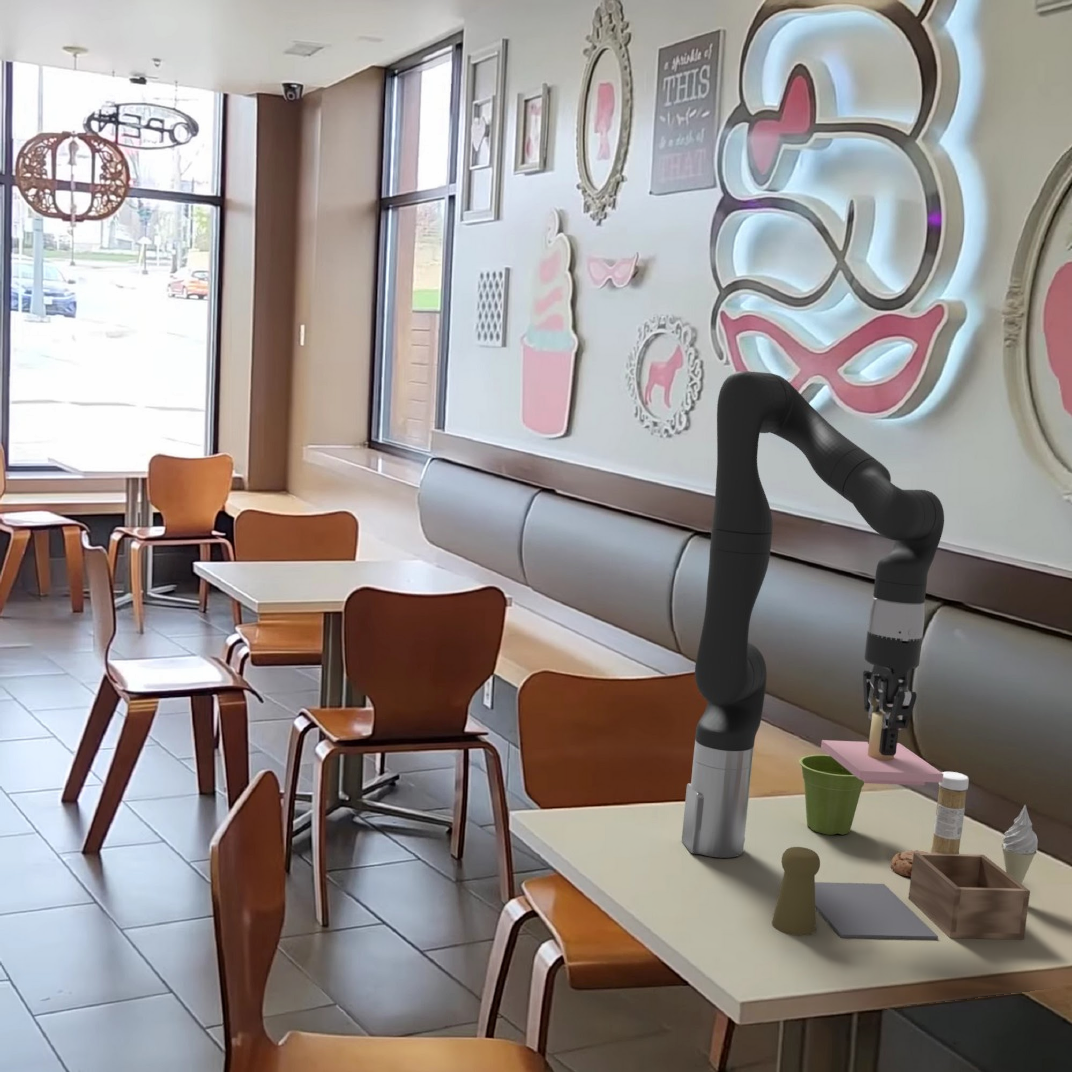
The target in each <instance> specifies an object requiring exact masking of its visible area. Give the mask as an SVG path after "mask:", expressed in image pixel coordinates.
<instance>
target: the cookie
mask: <svg viewBox="0 0 1072 1072" xmlns="http://www.w3.org/2000/svg"><path fill="white" fill-rule="evenodd" d="M914 853H929V852H928V851H925V850H924V851H923V850H906V851H903V852H898V853H896V854H895V855H893V858H892V859H891V860H890V861H891V865H890V868H891V871H892V872H893V873H896V874H898V875H899V876H900V875H901V876H903V877H910V878H911V872H912V864H913V856H914Z"/></svg>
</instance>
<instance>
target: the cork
mask: <svg viewBox="0 0 1072 1072" xmlns="http://www.w3.org/2000/svg"><path fill="white" fill-rule="evenodd" d="M781 866H782V869H783V871H784V872H783V876H782V880H781V885H780V888H779V892H778V896H777V900H776V904H775V907H774V912H773V916H772V920H771V926H772V927H773V928H775V929H776V930H778V931H780V932H781V933H785V934H788V935H793V936H809V935H812V934H814V933H816V932H817V919H816V918H817V917H816V908H815V882H816V881H815V879H816V878H815V877H816V875H817V874H818V873H819V870H820V867H821V861H820V856H819V854H818V853H817V852H816V851H814V850H813V849H811V848H807V847H803V846H790V847H788V848H786V849H785V851H784V852H783V853H782V855H781Z"/></svg>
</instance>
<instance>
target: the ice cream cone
mask: <svg viewBox="0 0 1072 1072" xmlns="http://www.w3.org/2000/svg"><path fill="white" fill-rule="evenodd" d="M1032 826H1033V823H1032V821H1031V819H1030V816H1029V813H1028V810H1027V804H1024V805H1023V808H1022V809H1021V811H1020V813H1018V816H1017V817H1016V818H1015V819H1014V820H1013V824H1012V825H1011V826H1010V827H1009V828H1008V830H1006V831H1005V832H1004V833H1003V834H1004V836H1005V837H1004V838H1003V840H1002V842H1003V843H1002V844H1001V845H1000V847H1001V849H1002V855H1003V861H1004V867H1005V872H1006V873H1008V874H1009V875H1010V876H1012V877H1013V878H1014V879H1015V880H1017V881H1018V882H1019V883H1020V884H1022V885H1023V881H1024V880H1025V877H1026V875H1027V873H1028V870H1029V868H1030V866H1031V864H1032V862H1033V859H1034V857H1035V855H1036V854H1037V851H1038V843H1039V841H1038V837H1037V834H1036V833H1035V831H1033V828H1032Z"/></svg>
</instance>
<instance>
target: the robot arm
mask: <svg viewBox="0 0 1072 1072" xmlns="http://www.w3.org/2000/svg"><path fill="white" fill-rule="evenodd" d="M717 398H718V399H717V404H716V406H717V407H716V408H717V409H716V443H717V445H716V449H717V450H716V451H717V452H716V454H717V455H716V457H717V460H716V463H717V464H716V479H715V480H716V481H715V492H714V493H715V494H714V507H713V508H714V510H713V517H712V524H711V532H710V533H711V534H710V544H709V545H710V546H709V561H708V562H709V564H708V572H707V573H708V574H707V585H706V597H705V598H706V599H705V600H706V601H705V602H706V603H705V611H704V618H703V623H702V629H701V634H700V641H699V644H698V648H697V655H696V660H695V665H694V680H695V684H696V687H697V689H698V692H699V693H700V695H701V696H702V697H703V699H705V700H706V701H707V705H706V708H704V709H705V710H704V712H703V714H702V716H701V717H700V718H699V720H698V723H696V724H697V725H696V728H695V740H694V749H693V758H692V759H693V760H692V770H691V771H692V772H691V781H690V783H689V782H688V783H687V784H686V791H685V792H686V793H685V801H684V811H683V821H682V822H683V823H682V830H681V831H682V833H681V842H682V843H683V845H684V846H685V847H686V848H687V850H688V851H689V852H690V854H697V855H703V856H706V857H712V858H734V857H738V856H741V855H742V854H743V853H744V846H745V845H744V844H745V840H746V838H745V837H746V835H745V834H746V826H747V819H748V809H749V808H748V807H749V798H750V788H751V780H752V779H751V777H752V770H753V769H752V767H753V760H754V759H753V758H754V749H755V740H756V735H757V733H758V731H759V728H760V726H761V721H762V717H763V709H764V703H765V695H766V688H767V664H766V661H765V658H764V656H763V654H762V652H761V651H760V650H759V649H758V648H757V646H756V645H754V644H753V643H750V642H749V632H750V622H751V616H752V613H753V611H754V610H753V609H754V607H755V603H756V602H757V598H758V597H759V594H760V590H761V588H762V587H763V583H764V580H765V577H766V575H767V571H768V568H769V563H770V558H771V557H770V556H771V547H772V538H773V515H772V512H771V511H772V510H771V507H770V504H769V501H768V498H767V494H766V493H765V489H764V487H763V485H762V482H761V478H760V475H759V467H758V450H759V439H760V434H768V433H770V434H774V435H775V436H777V437H778V438H781V439H783V440H785V441H787V442H789V443H790V444H792V445H793V446H795V447H796V448H797V449H799V450H800V452H802V453H803V454H804V456H805V458H806V459H807V461H808V462H809V464H810V466H811V468H812V469H813V471H814V472H815V474H816V475H817V476H818V477H819V478H820V479H821V480H822V481H823V482H824V483H825V484H826V485H827V486H828V487H830V488H831V489H832V490H833V491H835V492H836V493H837V494H839V495H840V496H841V497H843V498H844V499H845V500H846V501H848V502H850V503H851V504H852V505H853V506H854V507H855V509H856V511H857V512H858V514H860V515H861V517H862V518H863V519H864V521H865V522H866V523H867V524H868V526H870V528H871V529H872V530H874V531H875V532H876V533H878V534H879V535H880V536H883V537H884V538H885V539H888V540H891V541H894V544H893V548H892V550H891V552H890V553H889V554H887V555H885V556H884V557H882V558H881V559H879V561H878V562H877V565H876V571H875V578H874V586H873V594H872V595H873V596H872V601H871V605H870V609H869V613H868V615H869V616H868V623H867V630H866V631H867V632H866V639H865V641H866V642H865V650H864V660H865V661H866V662H867V663H868V664H870V665H873V667H872V670H864V671H862V683H863V686H862V687H863V710H864V712H866V713H867V712H868V716H867V717H868V719H869V727H868V729H869V730H868V738H867V742H868V744H869V739H870V730H871V721H872V713H874V712H882V727H883V728H882V730H881V739H880V748H879V752H880V753H881V754H882V755H890V756H893V755H895V754H896V748H897V743H898V737H899V731H901V730H906V729H908V726H909V723H910V720H911V717H912V714H913V711H914V707H915V704H916V700H917V696H918V695H917V692H916V691H910V689H909V675H908V674H909V673H908V672H909V671H910V670H915V669H916V668H918V667H919V666H920V662H921V654H922V653H921V651H922V645H923V636H924V628H925V627H924V626H925V600H926V594H927V585H928V584H927V583H928V573H929V570H930V567H931V566H932V563H933V562H934V560H935V559H934V558H935V556H936V553H937V550H938V547H939V544H940V542H941V539H942V535H943V531H944V526H945V513H944V512H945V511H944V508H943V504H942V502H941V500H940V498H939V497H938V496H937V495H936V494H934V493H933V492H931V491H929V490H925V489H902V488H900V487H898V486H896V485H895V484H893V482H891V481H892V478H891V473H890V471H889V470H888V468H887V467H886V465H884V464H883V463H881V462H880V461H879V460H877V458H875V457H874V456H872V455H871V454H870V453H868V452H866V451H865V450H864V449H862V448H861V447H860V446H858V445H857V444H856V443H854V442H853V441H852V440H850V439H849V438H848V437H846V436H845V435H843V434H842V433H841V432H840V431H839V430H837V429H836V428H835V427H834V425H832V424H830V423H829V422H828V421H827V419H825V418H824V417H823V416H822V415H821V414H820V413H819V412H818V411H817V410H816V409H815V408H814V407H813V406H812V405H811V404H810V403H809V402H808V400H806V398H805V397H804V396H802V394H801V393H800V392H799V390H797V389H796V388H795V387H794V385H792V384H791V383H790V382H789V381H788V380H787V379H785V378H784V377H783V376H781V375H778V374H775V373H773V372H772V373H770V372H763V371H761V372H760V371H751V370H750V371H749V370H747V371H746V370H741V371H739V370H738V371H735V372H733V373H731V374H730V375H729V376H727V378H726V379H725V380H724V381H723V383H722V385H721V387H720V390H719V394H718V397H717ZM889 713H890V716H889Z"/></svg>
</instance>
